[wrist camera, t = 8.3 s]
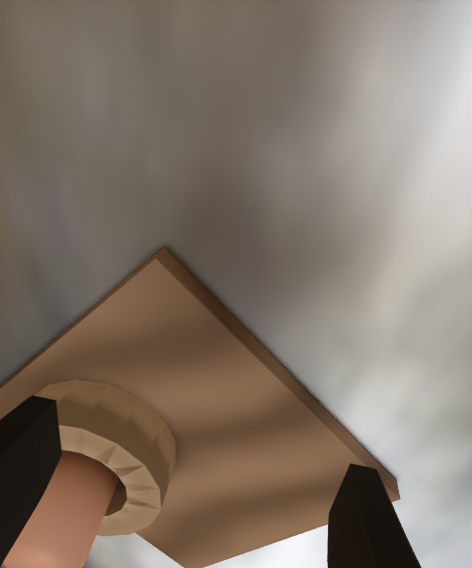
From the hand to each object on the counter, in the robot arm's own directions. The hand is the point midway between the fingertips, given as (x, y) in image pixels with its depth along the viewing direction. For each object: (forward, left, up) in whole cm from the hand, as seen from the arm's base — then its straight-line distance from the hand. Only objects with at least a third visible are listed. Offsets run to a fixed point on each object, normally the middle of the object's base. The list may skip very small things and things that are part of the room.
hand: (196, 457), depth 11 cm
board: (-6, +11, -10) cm, 16 cm away
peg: (-3, +14, -9) cm, 17 cm away
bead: (-3, +14, -9) cm, 17 cm away
